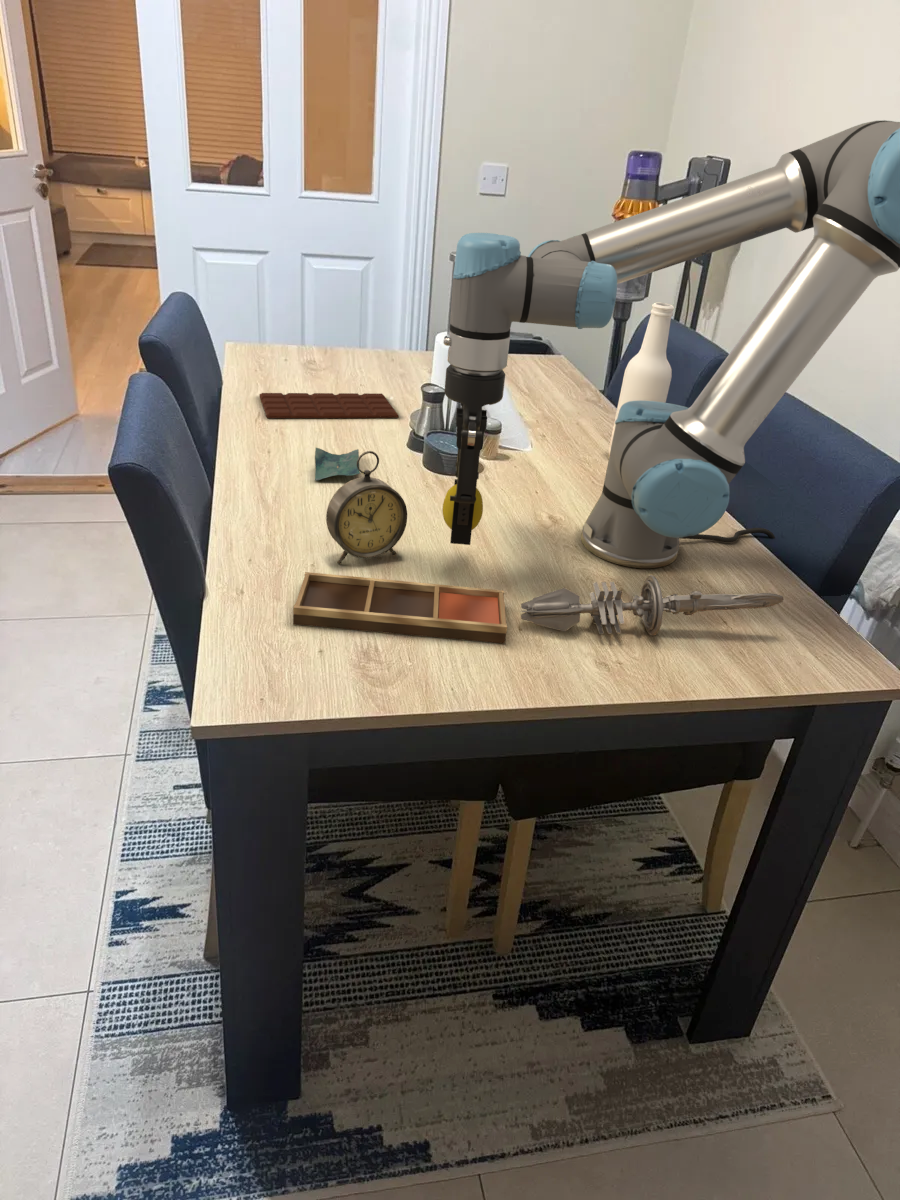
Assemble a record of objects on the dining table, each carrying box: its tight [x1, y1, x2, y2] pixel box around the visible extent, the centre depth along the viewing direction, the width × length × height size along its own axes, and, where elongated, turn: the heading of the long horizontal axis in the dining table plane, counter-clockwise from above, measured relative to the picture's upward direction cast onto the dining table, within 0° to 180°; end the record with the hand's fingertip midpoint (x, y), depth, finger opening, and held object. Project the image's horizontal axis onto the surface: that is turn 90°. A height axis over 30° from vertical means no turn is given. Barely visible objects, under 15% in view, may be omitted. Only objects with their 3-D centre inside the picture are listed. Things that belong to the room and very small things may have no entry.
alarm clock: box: [325, 450, 408, 565], centre depth 119 cm, size 11×5×16 cm, turn 117°
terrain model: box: [314, 447, 361, 481], centre depth 149 cm, size 13×8×2 cm, turn 6°
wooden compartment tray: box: [292, 571, 508, 644], centre depth 109 cm, size 27×9×2 cm, turn 89°
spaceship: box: [519, 574, 784, 637], centre depth 111 cm, size 8×35×8 cm
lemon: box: [442, 484, 484, 531], centre depth 116 cm, size 6×6×8 cm
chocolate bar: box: [259, 392, 399, 419], centre depth 178 cm, size 27×14×1 cm, turn 107°
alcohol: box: [608, 301, 675, 456], centre depth 162 cm, size 9×9×30 cm
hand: (460, 532), depth 118 cm, fingers closed on lemon, 5 cm apart
